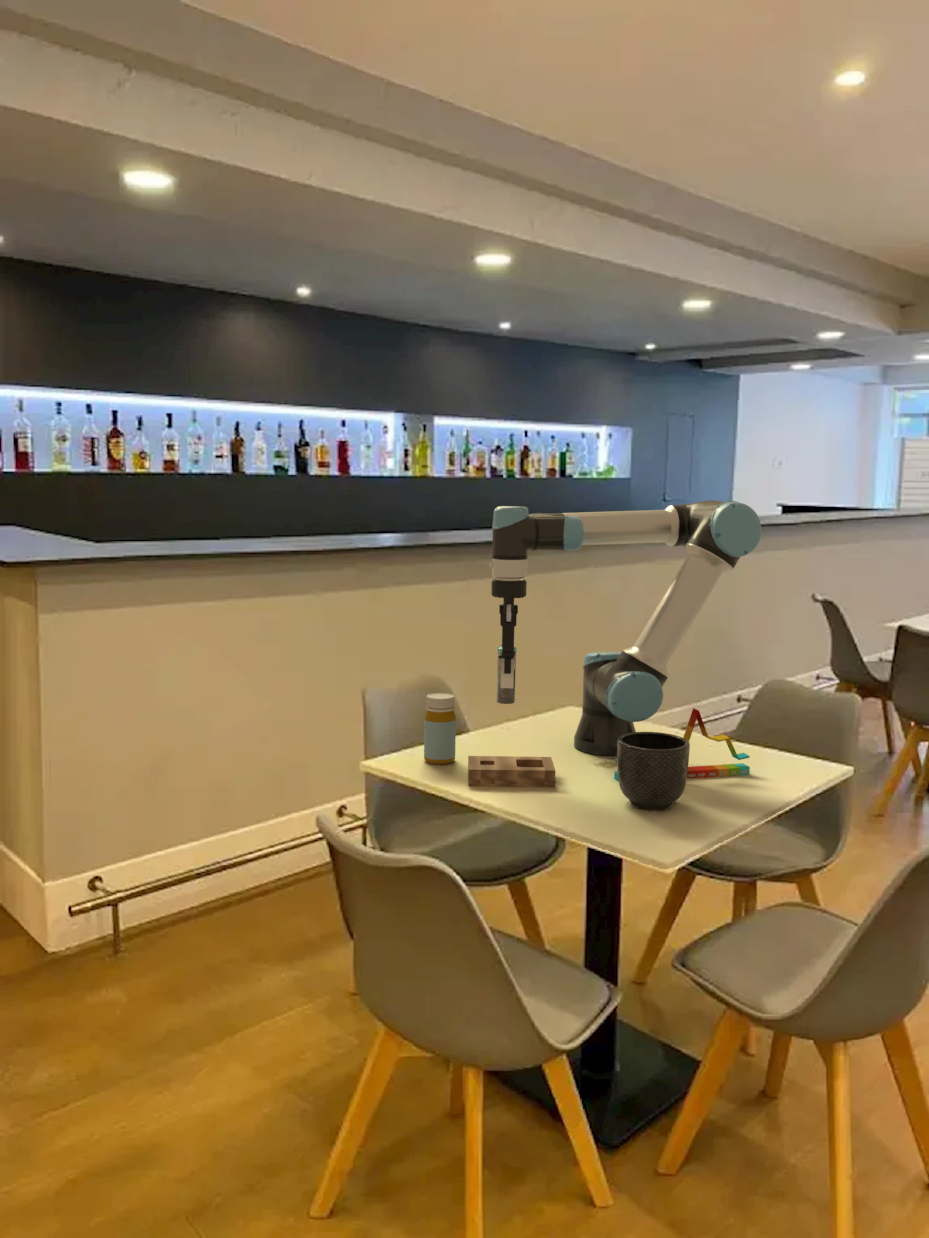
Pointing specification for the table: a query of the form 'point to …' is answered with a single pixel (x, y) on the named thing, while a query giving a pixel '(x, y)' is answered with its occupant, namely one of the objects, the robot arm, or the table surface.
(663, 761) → the planter
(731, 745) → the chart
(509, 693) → the clear spice jar
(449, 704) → the bottle
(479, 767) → the socket block
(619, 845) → the table surface
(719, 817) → the table surface
